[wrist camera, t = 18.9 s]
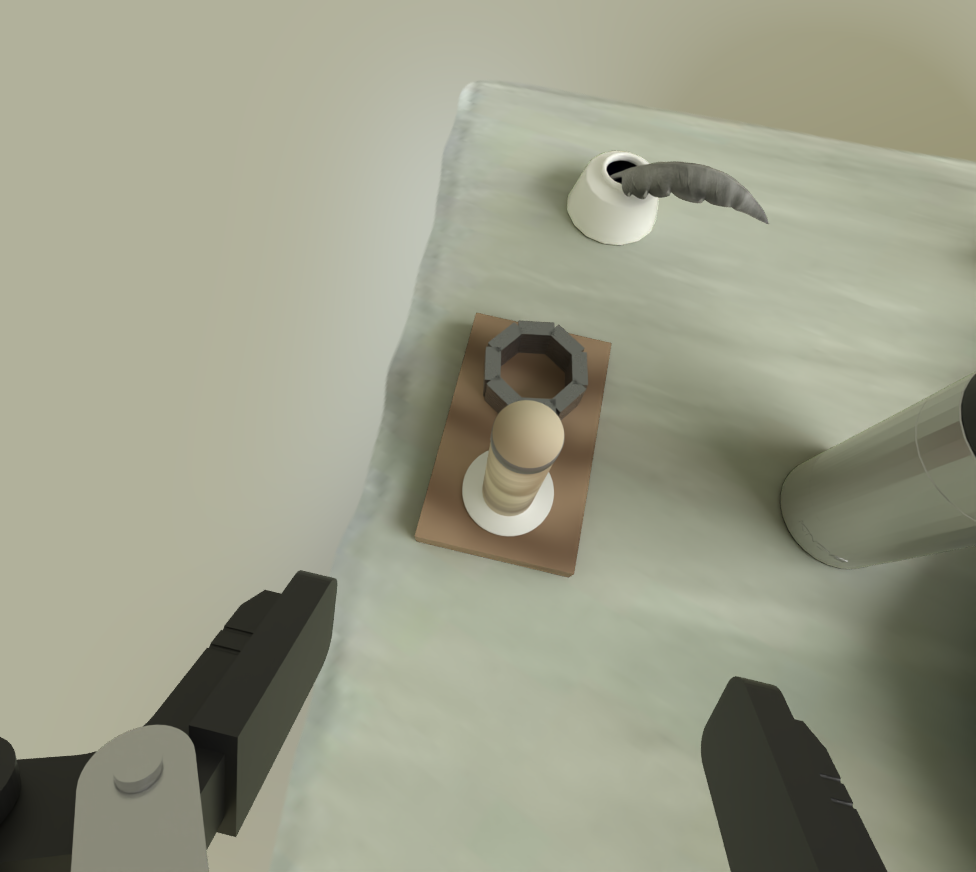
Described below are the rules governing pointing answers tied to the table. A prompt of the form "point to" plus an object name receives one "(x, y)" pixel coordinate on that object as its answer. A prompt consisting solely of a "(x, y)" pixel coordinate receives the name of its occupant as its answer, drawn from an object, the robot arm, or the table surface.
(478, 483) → the rest disc
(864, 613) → the table surface
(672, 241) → the table surface
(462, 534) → the walnut board
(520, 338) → the ring
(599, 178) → the inkwell
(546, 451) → the wooden peg
